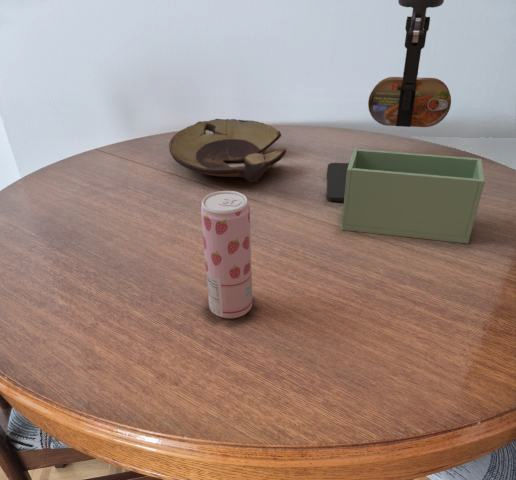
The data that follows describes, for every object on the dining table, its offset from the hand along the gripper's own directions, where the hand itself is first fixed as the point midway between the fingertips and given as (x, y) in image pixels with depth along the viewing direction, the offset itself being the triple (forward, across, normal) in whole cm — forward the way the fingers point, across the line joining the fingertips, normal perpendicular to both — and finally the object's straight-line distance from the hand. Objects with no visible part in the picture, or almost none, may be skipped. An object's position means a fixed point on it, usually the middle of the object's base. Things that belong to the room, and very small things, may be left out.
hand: (403, 122), depth 105 cm
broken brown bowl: (+6, +15, -31) cm, 35 cm away
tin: (0, 0, 0) cm, 1 cm away
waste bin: (+7, +29, +3) cm, 30 cm away
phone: (+7, +16, -8) cm, 19 cm away
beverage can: (+7, +57, -18) cm, 60 cm away
